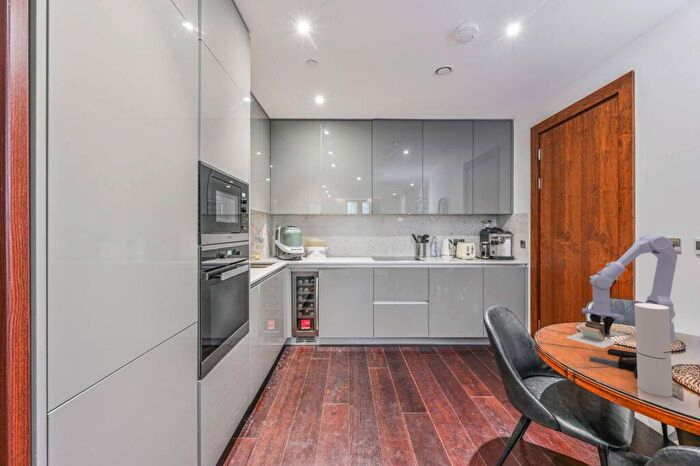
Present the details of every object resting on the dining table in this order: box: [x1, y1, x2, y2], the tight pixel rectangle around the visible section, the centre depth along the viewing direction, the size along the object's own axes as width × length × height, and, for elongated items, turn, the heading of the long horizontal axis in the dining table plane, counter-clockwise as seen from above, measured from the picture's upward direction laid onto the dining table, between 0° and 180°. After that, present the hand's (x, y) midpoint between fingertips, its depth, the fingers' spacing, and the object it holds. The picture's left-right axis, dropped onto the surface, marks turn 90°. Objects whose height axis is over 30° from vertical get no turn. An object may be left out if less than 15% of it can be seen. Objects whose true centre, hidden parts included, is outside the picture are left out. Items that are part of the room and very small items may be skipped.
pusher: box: [584, 320, 611, 340], centre depth 129 cm, size 11×6×6 cm, turn 116°
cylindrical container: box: [634, 302, 674, 398], centre depth 87 cm, size 7×7×25 cm
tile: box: [578, 325, 604, 341], centre depth 126 cm, size 2×7×6 cm
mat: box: [564, 330, 633, 349], centre depth 129 cm, size 25×14×1 cm, turn 116°
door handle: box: [589, 348, 638, 378], centre depth 104 cm, size 3×20×16 cm
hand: (602, 332), depth 130 cm, fingers closed on pusher, 2 cm apart
